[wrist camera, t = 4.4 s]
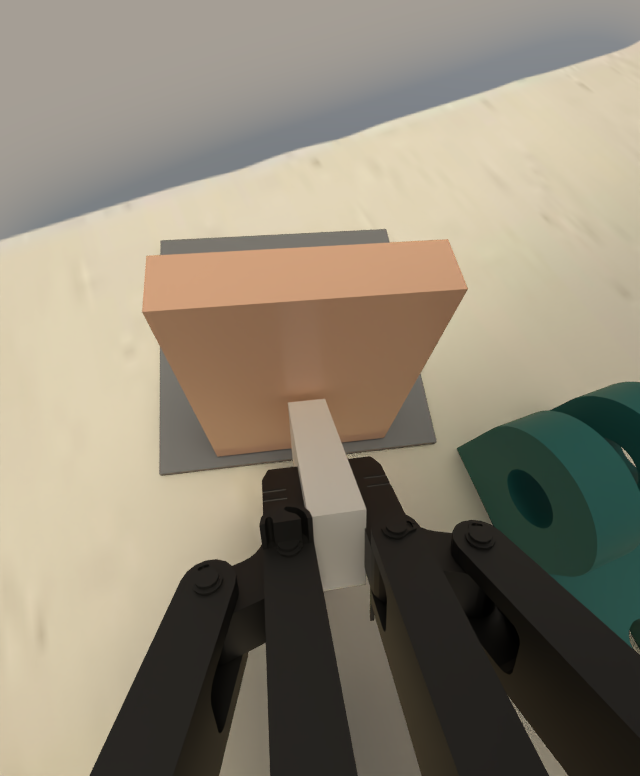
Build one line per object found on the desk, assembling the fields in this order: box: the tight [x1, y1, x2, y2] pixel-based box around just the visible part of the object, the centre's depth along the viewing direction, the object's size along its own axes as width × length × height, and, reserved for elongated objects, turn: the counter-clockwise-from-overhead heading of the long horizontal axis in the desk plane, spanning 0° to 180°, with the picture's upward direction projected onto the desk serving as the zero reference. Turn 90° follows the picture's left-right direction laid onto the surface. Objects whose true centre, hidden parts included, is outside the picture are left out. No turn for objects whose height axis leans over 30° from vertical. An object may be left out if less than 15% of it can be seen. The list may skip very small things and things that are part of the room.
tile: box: [142, 239, 468, 457], centre depth 17 cm, size 9×2×12 cm, turn 98°
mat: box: [159, 229, 436, 475], centre depth 24 cm, size 15×15×1 cm
